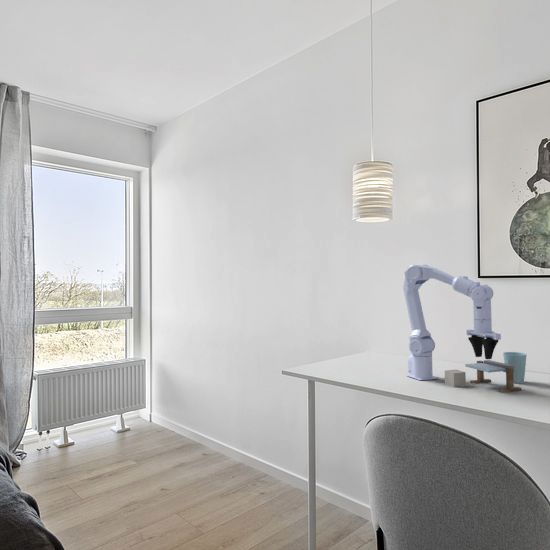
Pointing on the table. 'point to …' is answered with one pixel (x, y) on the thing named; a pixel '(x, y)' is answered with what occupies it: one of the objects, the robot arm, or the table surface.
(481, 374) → the stand
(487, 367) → the trapdoor
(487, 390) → the table surface
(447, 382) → the stone
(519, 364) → the cup
